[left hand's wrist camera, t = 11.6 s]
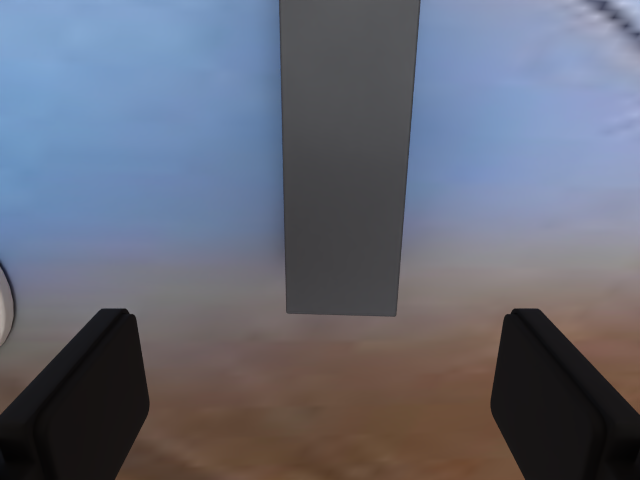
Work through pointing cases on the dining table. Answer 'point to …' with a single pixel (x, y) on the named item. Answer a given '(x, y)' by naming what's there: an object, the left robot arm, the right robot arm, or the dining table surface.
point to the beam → (345, 150)
